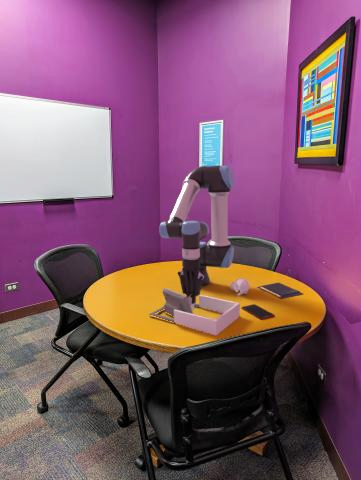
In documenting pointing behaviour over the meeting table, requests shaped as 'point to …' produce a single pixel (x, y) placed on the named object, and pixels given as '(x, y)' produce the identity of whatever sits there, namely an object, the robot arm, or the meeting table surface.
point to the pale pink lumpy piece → (240, 286)
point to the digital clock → (176, 302)
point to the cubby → (206, 324)
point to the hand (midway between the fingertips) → (191, 309)
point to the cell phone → (258, 312)
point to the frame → (163, 316)
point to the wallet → (280, 290)
